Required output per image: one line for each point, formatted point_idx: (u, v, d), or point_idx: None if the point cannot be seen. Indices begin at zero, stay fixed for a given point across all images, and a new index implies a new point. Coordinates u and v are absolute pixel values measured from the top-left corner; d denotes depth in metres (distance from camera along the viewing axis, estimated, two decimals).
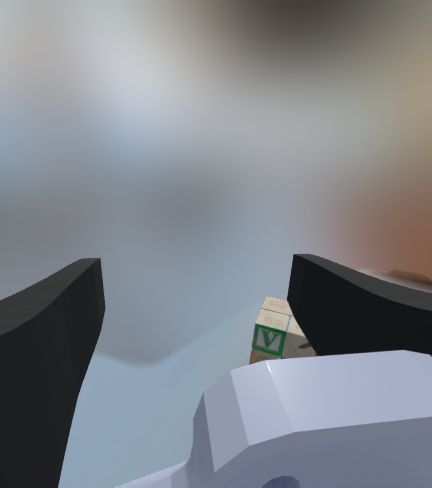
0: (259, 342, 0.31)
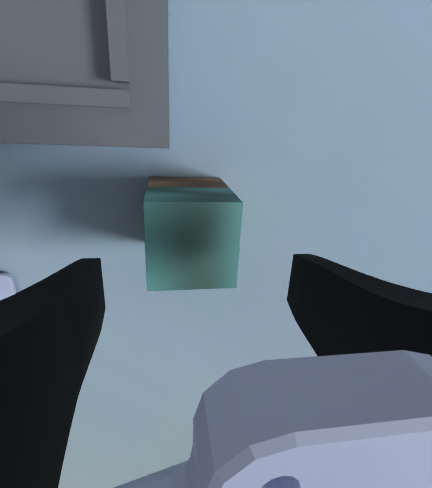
0: None
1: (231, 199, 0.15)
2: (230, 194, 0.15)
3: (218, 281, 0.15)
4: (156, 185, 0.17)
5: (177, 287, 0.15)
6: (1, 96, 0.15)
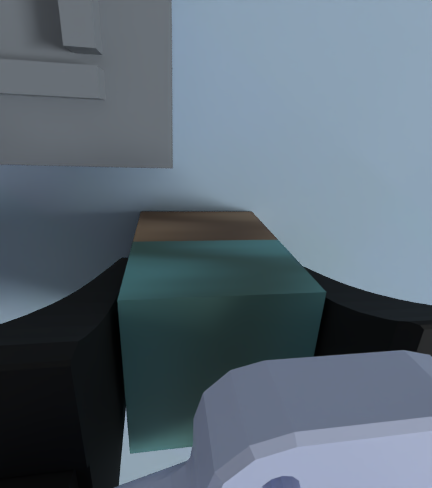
0: None
1: (298, 279, 0.07)
2: (289, 262, 0.08)
3: None
4: (150, 236, 0.09)
5: (189, 442, 0.08)
6: None
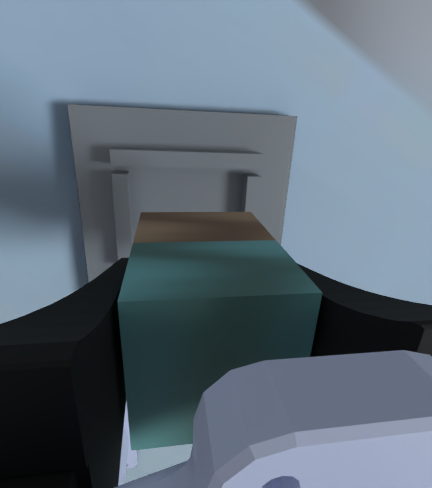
0: None
1: (294, 280, 0.07)
2: (286, 262, 0.08)
3: None
4: (150, 237, 0.10)
5: (189, 439, 0.08)
6: None
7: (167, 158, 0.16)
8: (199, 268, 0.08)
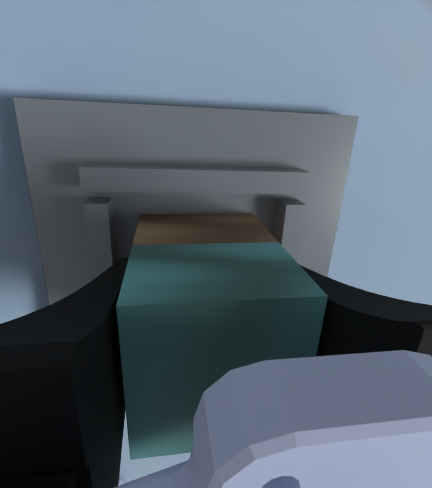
0: None
1: (299, 283, 0.07)
2: (290, 265, 0.08)
3: None
4: (149, 239, 0.09)
5: (190, 447, 0.08)
6: None
7: (168, 180, 0.11)
8: (200, 271, 0.08)
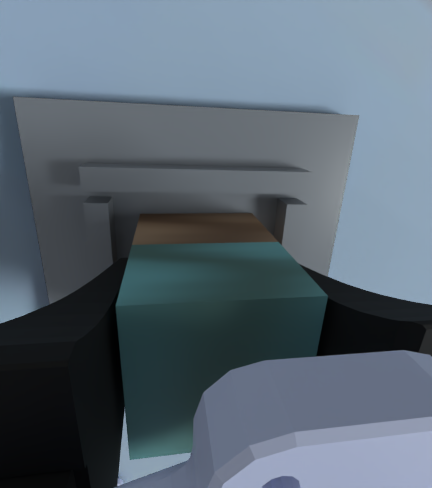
0: None
1: (299, 283, 0.07)
2: (290, 264, 0.08)
3: None
4: (149, 239, 0.09)
5: (190, 448, 0.08)
6: None
7: (168, 179, 0.11)
8: (200, 270, 0.08)
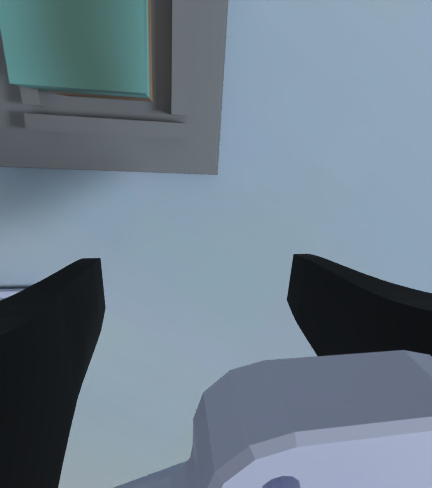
0: None
1: None
2: None
3: (117, 78, 0.11)
4: None
5: (56, 81, 0.11)
6: (69, 128, 0.16)
7: None
8: None
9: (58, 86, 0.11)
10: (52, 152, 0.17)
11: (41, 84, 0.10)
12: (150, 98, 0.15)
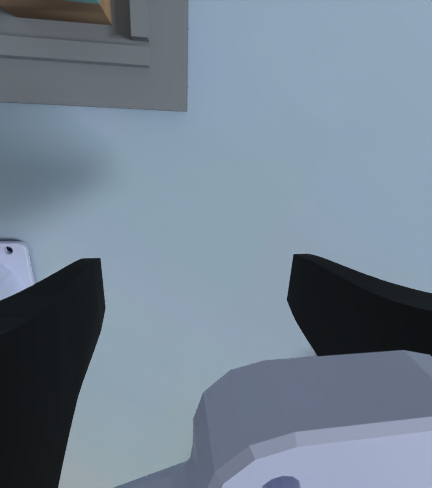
0: None
1: None
2: None
3: None
4: None
5: None
6: (20, 50, 0.15)
7: None
8: None
9: None
10: (5, 83, 0.16)
11: None
12: (102, 8, 0.13)
